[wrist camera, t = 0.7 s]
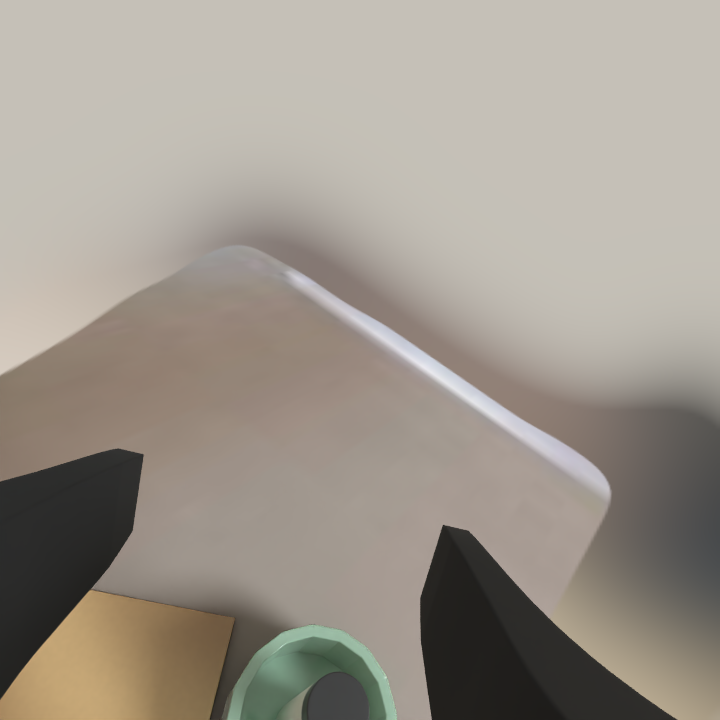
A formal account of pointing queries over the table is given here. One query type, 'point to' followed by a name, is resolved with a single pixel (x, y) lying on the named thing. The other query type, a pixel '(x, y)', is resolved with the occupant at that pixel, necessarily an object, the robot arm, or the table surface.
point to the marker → (329, 700)
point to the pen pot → (305, 673)
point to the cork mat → (123, 664)
